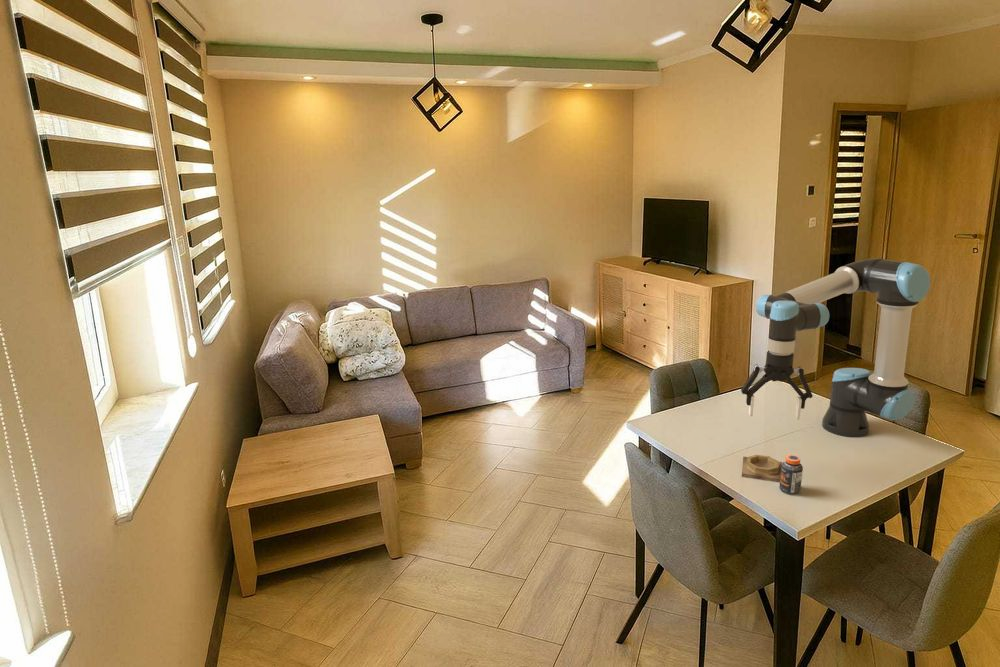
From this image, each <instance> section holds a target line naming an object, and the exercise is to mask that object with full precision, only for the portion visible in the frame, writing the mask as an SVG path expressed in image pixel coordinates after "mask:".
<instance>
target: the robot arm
mask: <svg viewBox="0 0 1000 667" xmlns="http://www.w3.org/2000/svg"><path fill="white" fill-rule="evenodd" d="M930 287H931V278H930V274H929V271H928V270H927V269H926V268H925V267H924V266H922V265H921V264H917V263H913V262H910V261H901V260H895V259H894V260H893V259H886V258H885V259H884V258H878V257H876V258H875V257H872V258H866V259H862V260H857V261H853V262H851V263H847V264H845V265H842V266H840V267H838V268H837V269H836V270H835V271H834V272H833V273H830V274H828V275H826V276H823V277H820V278H818V279H817V278H816V279H815V280H813V281H810V282H807V283H805V284H803V285H800V286H797V287H795V288H792V289H790V290H788V291H785V292H783V293H780V294H777V295H773V294H763V295H761V296H760V297H759V298H758V299H757V301H756V305H755V310H756V313H757V314H758V315H759V316H760V317H763V318H766V319H767V320H769V325H768V326H769V327H768V338H767V348H766V350H767V351H766V357H765V365H764V366H761V365H759V364H754V366H753V369H752V370H753V371H752V372H751V374H750V375H749V377H747V380H746V381H745V382H744V384H743V386H741V388H740V391H741V393H742V395H746V400H745V402H746V406H749V407H748V415H749V417H753V416H754V407H755V406H754V405H755V394H756V393H757V391H759V390H760V389H761V388H762V387H763V386H765V384H767V383H768V382H770V381H772V382H783V383H784V382H785V381H786V382H787V383H788V384H789V385H790V386H791V388H792V389H793V390H794V391H795V392H796V393H797V395H799V396H797V397H796V404H795V405H796V406H795V414H794V417H795V419H796V420H800V419H801V413H802V412H801V411H802V409H805V406H806V401H807V399H808V398H809V399H812V398H813V397H814V395H813V394H812V391H811V389H810V387H809V385H808V382H807V380H806V378H805V373H804V372H805V370H804V369H803V367H802V366H798V367H794V364H793V363H794V357H795V355H794V352H795V346H796V340H797V339H796V338H797V332H801V331H806V330H812V329H815V330H816V329H818V328H821V327H824V326H825V325H827V324H828V322H829V321H830V311H829V309H828V307H827V306H826V305H825V304H823V302H826V301H827V300H830V299H832V298H835V297H838V296H840V295H842V294H848V295H849V294H853V293H855V292H866V293H870V294H876V304H878V305H879V306H880V314H879V323H878V335H877V343H876V352H875V360H874V370H873V373H872V372H871V371H870V370H869V369H865V368H861V367H842V368H838V369H836V370H835V371H834V372H833V376H832V380H831V388H830V390H831V391H830V397H829V398H830V399H829V405H828V408H827V410H826V412H825V414H824V415H823V417H822V421H821V425H822V428H823V429H824V430H826V431H828V432H830V433H832V434H835V435H838V436H843V437H850V438H851V437H852V438H855V437H856V438H858V437H864V436H866V435H868V434H869V429H870V425H869V421H868V417H867V413H866V412H868V413H871V414H874V415H876V416H878V417H881V418H882V419H888V420H889V421H890V420H891V421H899V420H902V419H903V418H904V417H906V416H907V414H908V413H910V411H911V410H912V409H913V407H914V405H915V401H916V395H915V392H913V391H912V390H911V389H909V379H907V378H906V377H905V371H906V370H905V369H906V360H907V354H908V345H909V336H910V330H911V329H910V328H911V319H912V314H913V313H912V311H913V309H914V308H915V307H917V306H918V305H919V302H921V301H922V300H924V299H925V298H926V297H927V294H928V293H929V291H930V289H931V288H930ZM762 372H764V373H765V374H763V375H762V377H761V378H760V379H758V381H757V382H755V381H756V379H757V377H758V375H759V374H761V373H762ZM794 373H795V374H796V376H798V377H799V380H800V383H801V384H802V387H803V389H804V391H805V392H803V391H802V390H801V388H800V387H799V386H798V385H797V383H795V381H794V380H793V379H792V378H791V377H792V375H793V374H794ZM871 373H872V374H871ZM753 383H754V384H753ZM752 384H753V385H752Z"/></svg>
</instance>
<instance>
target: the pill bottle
mask: <svg viewBox="0 0 1000 667" xmlns="http://www.w3.org/2000/svg"><path fill="white" fill-rule="evenodd" d="M803 472H804V466H803V465H802V464H801V458H800V457H799V456H798V455H794V454H787V455H786V457H785V461H783V462H782V466H781V476H780V482H779V487H778V488H779V490H780V492H782V493H783V494H786V495H789V496H790V495H791V496H795V495H799V494H800V493H801V491H802V490H801V489H802V481H803V480H802V479H803Z"/></svg>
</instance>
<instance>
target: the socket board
mask: <svg viewBox="0 0 1000 667" xmlns="http://www.w3.org/2000/svg"><path fill="white" fill-rule="evenodd" d="M782 463H783V462H782V461H779V460H776V459H775V458H773V457H771V456H768V455H762V454H754V455H750V456H743V458H742V466H741V467H742V468H741V477H743V478H748V479H749V478H750V479H754V480H761V481H769V482H774V483H780V476H781V466H782Z"/></svg>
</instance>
